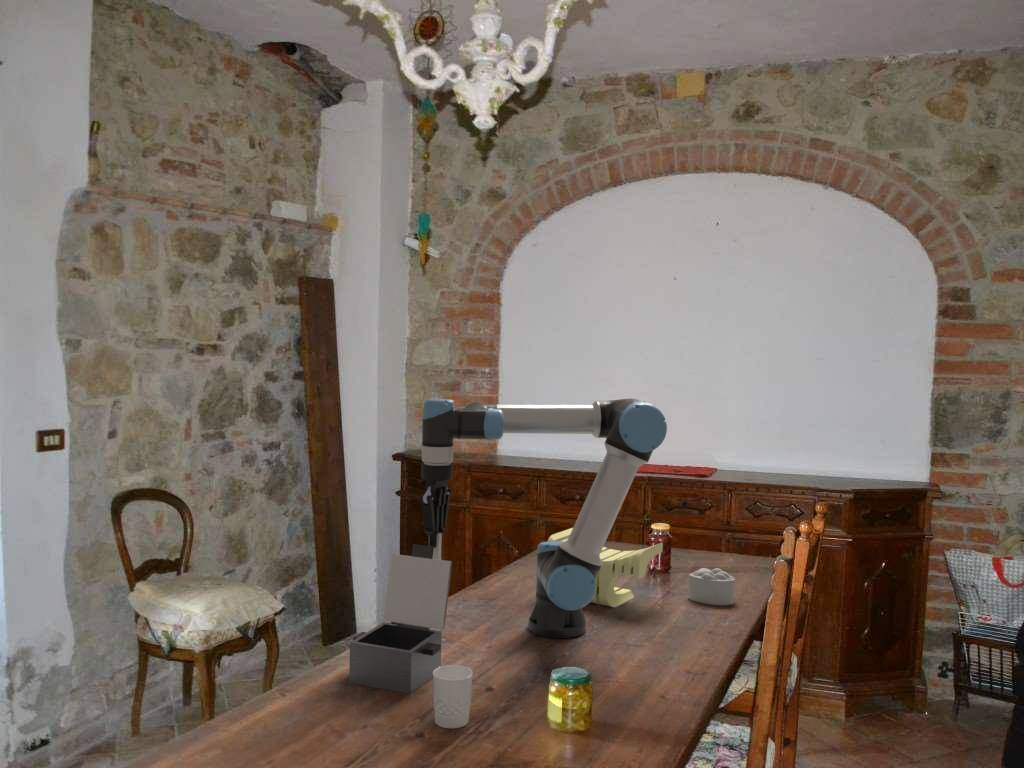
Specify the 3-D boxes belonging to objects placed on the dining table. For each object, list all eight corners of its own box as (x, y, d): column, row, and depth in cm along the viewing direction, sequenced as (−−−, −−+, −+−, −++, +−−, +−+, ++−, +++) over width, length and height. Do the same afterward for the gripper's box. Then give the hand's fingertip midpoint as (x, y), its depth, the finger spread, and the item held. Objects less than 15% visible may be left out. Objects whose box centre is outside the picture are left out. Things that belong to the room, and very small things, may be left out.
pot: (450, 671, 203) (451, 632, 202) (420, 696, 189) (421, 654, 188) (373, 658, 210) (374, 620, 209) (339, 681, 195) (340, 640, 195)
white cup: (431, 713, 180) (432, 664, 180) (470, 712, 181) (471, 664, 180) (431, 730, 172) (432, 680, 172) (472, 730, 173) (473, 679, 173)
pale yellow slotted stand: (544, 596, 263) (546, 536, 262) (570, 584, 276) (572, 527, 275) (637, 616, 247) (639, 552, 246) (660, 602, 260) (662, 542, 259)
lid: (442, 632, 203) (445, 632, 204) (452, 549, 206) (455, 549, 207) (382, 623, 208) (385, 623, 210) (393, 541, 211) (396, 542, 213)
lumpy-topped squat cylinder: (699, 591, 272) (700, 563, 272) (740, 600, 265) (741, 571, 264) (684, 599, 264) (685, 570, 263) (726, 608, 256) (727, 578, 256)
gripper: (435, 458, 222) (432, 552, 223) (410, 465, 210) (408, 563, 211) (462, 461, 219) (459, 555, 220) (439, 467, 207) (436, 567, 208)
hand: (434, 559), depth 216 cm, fingers closed
